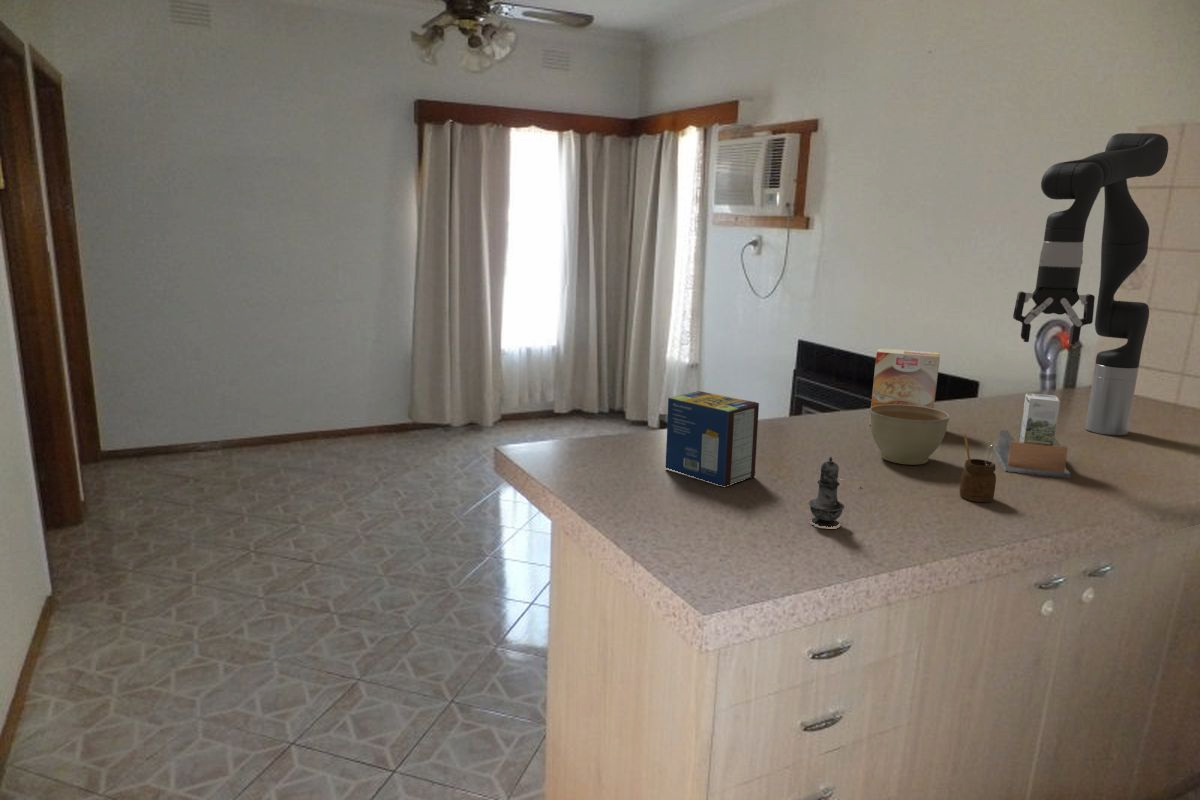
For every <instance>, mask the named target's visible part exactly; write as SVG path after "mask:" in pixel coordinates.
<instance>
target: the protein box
mask: <svg viewBox="0 0 1200 800" xmlns="http://www.w3.org/2000/svg"><path fill="white" fill-rule="evenodd" d="M759 406H760V403H759V402H755V401H751V400H745V399H741V398H735V397H731V396H726V395H721V394H715V393H710V392H705V391H702V390H701V391H700V390H698V391H694V392H687V393H684V394H680V395H674V396H669V397H668V400H667V422H666V423H667V425H666V447H665V448H666V449H665V467H666V468H669V469H672V470H675V471H678V472H681V473H684V474H687V475H690V476H694V477H696V478H699V479H703V480H705V481H709V482H712V483H715V484H718V485H722V486H727V485H730V484H732V483H735V482H738V481H741V480H744V479H748V478H751V477H754V476H755V477H756V458H757V445H758V444H757V443H758V442H757V441H758V425H759V409H760V408H759ZM755 477H754V478H755ZM751 479H752V478H751ZM748 480H749V479H748Z"/></svg>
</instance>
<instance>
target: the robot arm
mask: <svg viewBox="0 0 1200 800" xmlns="http://www.w3.org/2000/svg"><path fill="white" fill-rule="evenodd" d="M1105 146H1106V147H1105V149H1104V150H1105V151H1101V152H1097V153H1094V154H1092V155H1089V156H1087V157H1084V158H1081V159H1077V160H1076V159H1074V160H1069V161H1063V162H1058V163H1054V164H1053V165H1051V166H1050V167H1049V168H1047V170H1046V171H1045V172H1044V173H1043V175H1042V177H1041V181H1040V187H1041V191H1042V193H1043V195H1045V196H1046V197H1047V198H1049V199H1050V200H1055V201H1056V200H1074V201H1073V203H1072V204H1071V205H1070V207H1069V208H1068V209H1065V210H1060V211H1056V212H1053V213H1051V214H1049V215H1048V216H1047V219H1046V222H1045V229H1044V236H1043V243H1042V247H1041V250H1040V256H1039V263H1038V269H1037V276H1036V277H1037V278H1036V285H1035V288H1034V291H1033V292H1025V291H1019V292H1017V295H1016V298H1015V299H1016V301H1015V305H1014V311H1013V314H1012V319H1014V320H1015V321H1018V322H1020V323H1021V330H1020V338H1021V339H1022V340H1023V342H1024V343H1029V342H1030V336H1031V328H1032V324H1031V322H1032V321H1034V320H1035V319H1036V318H1037V317H1039V316H1040V314H1041V313H1042V314H1045V315H1052V314H1055V315H1064V314H1065V315H1066V316H1067V318H1068V319H1069V321H1070V322H1071V323H1072V325H1071V326H1070V333H1069V338H1068V339H1069V340H1068V344H1069V345H1072V346H1074V345H1075V344H1076V343H1078V342H1079V341H1080V336H1081V329H1082V327H1083V326H1085V325H1091V324H1093V321H1094V329H1095V333H1096V334H1097V335H1098V336H1100V337H1105V338H1114V339H1123V340H1124V339H1125V340H1127V342H1126V343H1125V344H1123V345H1121V346H1120V347H1117V348H1112V349H1107V350H1102V351H1099V352H1098V353H1097V354H1096V356H1095V363H1094V369H1093V376H1092V382H1091V388H1090V395H1089V399H1088V400H1089V402H1088V405H1087V407H1088V408H1087V414H1086V420H1085V424H1084V427H1085V428H1084V429H1085V430H1087V431H1089V432H1093V433H1095V434H1096V433H1097V434H1101V435H1107V436H1109V435H1110V436H1126V435H1127V434H1128V433H1129V432H1128V431H1129V425H1130V420H1131V415H1132V408H1133V402H1134V396H1135V390H1136V386H1137V380H1138V374H1139V367H1140V361H1141V355H1142V350H1143V345H1144V340H1145V335H1146V331H1147V327H1148V323H1149V318H1150V307H1149V305H1148V304H1147V303H1145V302H1141V301H1140V302H1139V301H1129V300H1128V301H1125V300H1115V298H1114V297H1115V294H1116V292H1117V291H1118V290H1119V288H1120V287H1121V285H1122V284H1123V283H1124V282H1125V281H1126V280H1127V279H1128V277H1130V275H1131V274H1133V273H1134V272H1135V270H1136V269H1137V268H1138V267H1139V266H1140V265H1141V264H1142V263H1143V261H1144V260H1145V259H1146V256H1147V254H1148V248H1149V240H1150V239H1149V237H1150V226H1149V223H1148V221H1147V218H1146V217H1145V215H1144V213H1143V212H1142V211H1141V209H1140V208H1139V207H1138V205H1137V204H1136V202H1135V201H1134V199H1133V197H1132V195H1131V193H1130V191H1129V188H1128V181H1127V180H1128V179H1133V178H1144V177H1145V178H1146V177H1152V176H1154V175H1156V174H1158V173H1159V172H1160V171H1161V170H1162V169H1163V167H1164V165H1165V164H1166V161H1167V157H1168V153H1169V142H1168V140H1167V138H1166V137H1165V136H1164V135H1162V134H1160V133H1155V132H1154V133H1153V132H1151V133H1150V132H1147V133H1145V132H1143V133H1137V132H1136V133H1135V132H1125V133H1124V132H1121V133H1116V134H1114V135H1112V136H1111V137H1110V138H1109V140H1108V142H1107V144H1106V145H1105ZM1102 188H1103V189H1104V211H1103V222H1102V225H1103V226H1102V234H1101V235H1102V236H1101V248H1100V250H1101V251H1100V277H1099V278H1100V280H1099V281H1100V282H1099V288H1098V297H1097V304H1096V311H1095V300H1096V299H1095V298H1096V297H1095V295H1093V294H1090V293H1087V294H1079V292H1078V290H1079V289H1078V288H1079V283H1080V276H1081V275H1080V274H1081V270H1082V269H1081V268H1082V265H1083V261H1084V259H1083V256H1084V240H1085V239H1084V238H1085V234H1086V226H1087V222H1088V218H1089V216H1090V213H1091V211H1092V209H1093V206H1094V204H1095V202H1096V200H1097V198H1098V196H1099V194H1100V191H1101V189H1102ZM1030 299H1032V301H1033V303H1034V304H1035V305H1034V306H1033V307H1032V308H1031V309H1030V310H1029V312H1027V314H1026V315H1024V316H1023V311H1024V307H1025V303H1028V302H1029V300H1030ZM1079 301H1080V303H1081V305H1083V315H1082V318H1079V315H1077V312H1076V311H1075V309H1074V308H1073V307H1074V306H1075V304H1077V303H1078V302H1079ZM1094 311H1095V312H1094ZM1094 313H1095V318H1094Z"/></svg>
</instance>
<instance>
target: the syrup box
mask: <svg viewBox="0 0 1200 800" xmlns="http://www.w3.org/2000/svg"><path fill="white" fill-rule="evenodd" d="M1060 406H1061V401H1060V399H1059V397H1057V396H1056V395H1053V394H1052V395H1051V394H1040V393H1039V394H1038V393H1025V396H1024V404H1023V409H1022V411H1023V412H1022V418H1021V422H1020V423H1021V424H1020V429H1019V430H1020V431H1019V436H1018V441H1020V442H1030V443H1041V444H1051V445H1053V443H1054V438H1056V437H1055V435H1056V429H1057V425H1058V424H1057V423H1058V419H1059V414H1060V413H1059V411H1060Z"/></svg>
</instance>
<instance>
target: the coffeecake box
mask: <svg viewBox="0 0 1200 800" xmlns="http://www.w3.org/2000/svg"><path fill="white" fill-rule="evenodd" d="M940 355H941V354H940V352H934V351H933V352H932V351H931V352H930V351H920V350H919V351H917V350H908V349H907V350H906V349H894V348H893V349H892V348H882V347H881V348H877V350H876V355H875V364H874V373H873V375H874V376H873V385H872V394H871V402H870V403H871V405H870V408H871V407H873V406H877V405H890V404H891V405H911V406H920V407H927V408H932V409H935V401H936V400H935V399H936V393H937V385H938V376H939V368H940V367H939V366H940V359H941V358H940ZM870 419H871V415H869V420H870ZM868 423H869V424H870V421H869V422H868Z"/></svg>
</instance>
